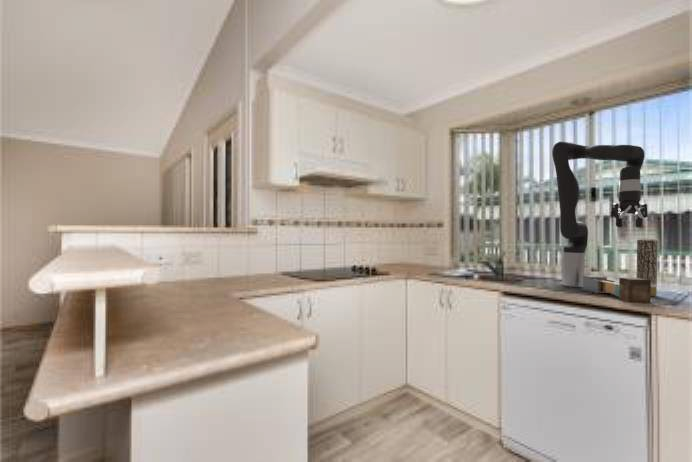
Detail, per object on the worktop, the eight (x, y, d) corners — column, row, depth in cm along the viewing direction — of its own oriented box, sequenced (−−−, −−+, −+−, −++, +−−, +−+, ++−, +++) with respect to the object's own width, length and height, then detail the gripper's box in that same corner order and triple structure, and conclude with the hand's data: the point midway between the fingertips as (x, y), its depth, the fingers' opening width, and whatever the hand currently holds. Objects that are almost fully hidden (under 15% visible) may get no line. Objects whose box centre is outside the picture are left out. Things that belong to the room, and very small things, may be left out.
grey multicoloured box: (582, 289, 161) (582, 275, 161) (598, 290, 161) (598, 275, 161) (597, 293, 151) (597, 278, 151) (614, 294, 151) (614, 278, 151)
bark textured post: (660, 297, 146) (661, 239, 146) (642, 296, 148) (643, 239, 148) (649, 294, 153) (650, 239, 153) (632, 293, 154) (633, 238, 154)
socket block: (619, 299, 139) (619, 277, 139) (639, 299, 139) (639, 278, 139) (629, 302, 134) (629, 279, 134) (650, 302, 134) (650, 279, 134)
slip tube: (597, 290, 154) (597, 280, 154) (606, 290, 154) (606, 280, 154) (632, 298, 135) (632, 287, 135) (642, 299, 135) (643, 287, 135)
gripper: (638, 191, 153) (637, 227, 153) (606, 191, 153) (606, 227, 153) (653, 189, 145) (652, 227, 146) (620, 189, 146) (619, 227, 146)
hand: (628, 227), depth 149 cm, fingers open, 8 cm apart
